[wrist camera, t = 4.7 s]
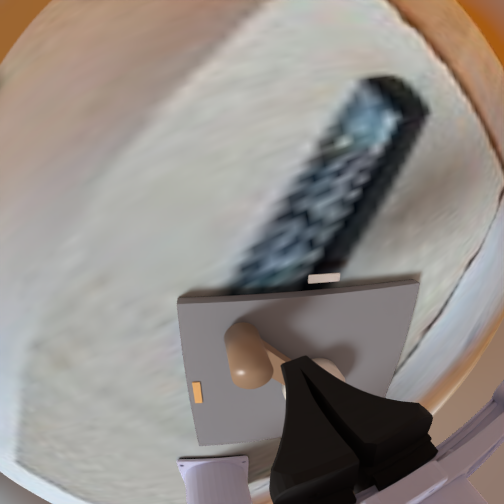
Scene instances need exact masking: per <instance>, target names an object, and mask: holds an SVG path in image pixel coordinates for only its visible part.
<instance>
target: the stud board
mask: <svg viewBox="0 0 504 504" xmlns="http://www.w3.org/2000/svg"><path fill="white" fill-rule="evenodd" d="M339 279H340V273H328V274H313V275H309V277H308V284H310V283H323V282H335V281H339ZM419 284H420V283H419V282H417V281H415V280H413V279H411V280H404V281H396V282H387V283H379V284H370V285H361V286H351V287H341V288H330V289H319V290H307V291H295V292H282V293H267V294H251V295H233V296H212V297H184V298H178V300H177V310H178V320H179V328H180V337H181V345H182V352H183V360H184V366H185V373H186V380H187V386H188V392H189V398H190V403H191V409H192V414H193V419H194V424H195V429H196V434H197V439H198V443H199V446H208V445H223V444H235V443H244V442H252V441H260V440H267V439H273V438H279V437H282V433H283V427H284V420H285V410H286V400H285V397H284V395H283V393H282V384H281V383H279V382H278V381H276V380H274V379H273V378H271V379H270V381H269V382H268V383H266V384H265V385H263V386H261V387H259V388H256V389H243V388H240V387H238V386H237V385H235V384H234V382H233V381H232V378H231V373H230V368H229V363H228V358H227V352H226V347H225V342H224V335H225V332H226V331H227V329H228V328H229V327H231V326H232V325H234V324H236V323H241V322H245V323H250V324H252V325H253V326H255V327H256V328H257V330H258V332H259V335H260V337H261V339H262V340H264V341H265V342H267V343H268V344H270V345H271V346H272V347H274V348H275V349H277V350H278V351H279V352H281V353H282V354H284V355H285V356H287V357H288V358H290V359H291V360H294V359H296V358H299V357H302V356H305V355H306V356H308V357H309V358H310V359H315V358H325V359H328V360H330V361H332V362H333V363H334V364H335V365H336V367H337V368H338V370H339V371H340V372H341V374H342V375H343V376H344V378H345V382H346V383H347V384H349V385H351V386H353V387H355V388H358V389H360V390H362V391H365V392H367V393H370V394H373V395H376V396H380V397H383V398H384V397H385V395H386V393H387V390H388V388H389V385H390V382H391V380H392V377H393V374H394V372H395V369H396V366H397V363H398V360H399V358H400V355H401V352H402V348H403V345H404V342H405V339H406V336H407V332H408V329H409V325H410V321H411V318H412V314H413V310H414V306H415V302H416V298H417V293H418V289H419Z"/></svg>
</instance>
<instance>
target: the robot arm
mask: <svg viewBox="0 0 504 504" xmlns="http://www.w3.org/2000/svg"><path fill="white" fill-rule="evenodd" d="M280 367H281V371H282V375H283V379H284V382H285V390H286V410H285V420H284V427H283V433H282V438H281V441H280V445H279V449H278V452H277V455H276V458H275V461H274V463H273V466H272V468H271V476H270V486H269V489H270V496H271V499H272V502H273V504H488V503H487V502H486V500H485V499H484V498H483V497H482V496H481V495H480V493H479V492H478V491H477V490H476V489H475V488H474V486H473V485H472V484H471V483H470V482H469V480H468V479H467V478H468V477H469V476H470V475H471V474H472V473H474V472H475V471H476V470H477V469H478V468H479V467H480V466H481V465H482V464H483V463H484V462H485V461H486V460H487V459H488V458H489V457H490V456H491V455H492V454H493V453H494V451H495V450H496V449H497V448H498V447H499V446H500V445H501V444H502V443H503V442H504V380H503V382H502V383H501V384H500V385H499V386H498V387H497V389H496V391H495V392H494V394H493V396H492V399H491V400H490V401H489V402H488V403H487V404H486V405H485V406H484V407H483V408H482V409H481V410H480V411H479V412H478V413H477V414H475V415H474V416H473V417H472V418H471V419H470V420H469V421H468V422H466V423H465V424H464V425H463V426H462V427H461V428H460V429H458V430H457V431H456V432H455V433H454V434H452V435H451V436H450V437H448V438H447V439H446V440H445V441H443V442H442V443H441V444H439V445H438V446H437V447H435V446H434V445H433V444H432V442H431V437H430V436H429V434H428V431H429V429H430V426H431V424H432V419H433V417H432V415H431V414H430V413H429V412H428V410H426V409H425V408H424V407H423V406H422V405H420V404H419V403H412V402H403V401H396V400H391V399H387V398H383V397H380V396H376V395H373V394H370V393H367V392H365V391H362V390H360V389H358V388H355V387H353V386H351V385H349V384H347V383H346V382H344V381H342V380H340V379H338V378H337V377H335V376H334V375H332V374H331V373H329V372H327V371H326V370H325V369H323V368H322V367H321V366H319V365H318V364H317V363H315V362H314V361H313V360H312V359H310V358H309V357H308V356H306V355H305V356H302V357H299V358H296V359H294V360H291V361H288V362H285V363H282V364H281V366H280ZM248 460H249V459H248V456H235V457H224V458H209V459H178V460H177V465H178V468H179V471H180V473H181V475H182V478H183V480H184V483H185V486H186V500H187V504H253V503H252V499H251V495H250V491H249V487H248ZM353 491H354V493H353ZM354 494H355V495H354Z"/></svg>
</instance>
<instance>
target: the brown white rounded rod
mask: <svg viewBox="0 0 504 504" xmlns="http://www.w3.org/2000/svg"><path fill="white" fill-rule="evenodd" d="M224 342H225V347H226V352H227V358H228V363H229V368H230V373H231V378H232V381H233V382H234V384H235V385H237V386H238V387H240V388H243V389H256V388H259V387H261V386H263V385H265V384H266V383H268V382H269V381H270V379H271V378H273V379H274V380H276V381H278V382H279V383H281V384H282V393H283V395H284V397H285V400H286V390H285V382H284V379H283V375H282V371H281V367H280V366H281V364H282V363H285V362H288V361H291V359H290V358H288V357H287V356H285V355H284V354H282V353H281V352H279V351H278V350H277V349H275V348H274V347H272V346H271V345H270V344H268V343H267V342H265V341H264V340H262V339H261V337H260V335H259V332H258V330H257V328H256V327H255V326H253V325H252V324H250V323H245V322H241V323H236V324H234V325H232V326H231V327H229V328H228V329H227V331H226V332H225V335H224ZM312 360H313V361H314V362H315V363H317V364H318V365H319V366H321V367H322V368H323V369H325V370H326V371H327V372H329V373H331V374H332V375H334V376H335V377H337V378H338V379H340V380H342V381H344V382H345V378H344V376H343V375H342V374H341V372H340V371H339V370H338V368H337V367H336V365H335V364H334V363H333V362H332V361H330V360H328V359H325V358H315V359H312Z"/></svg>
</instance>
